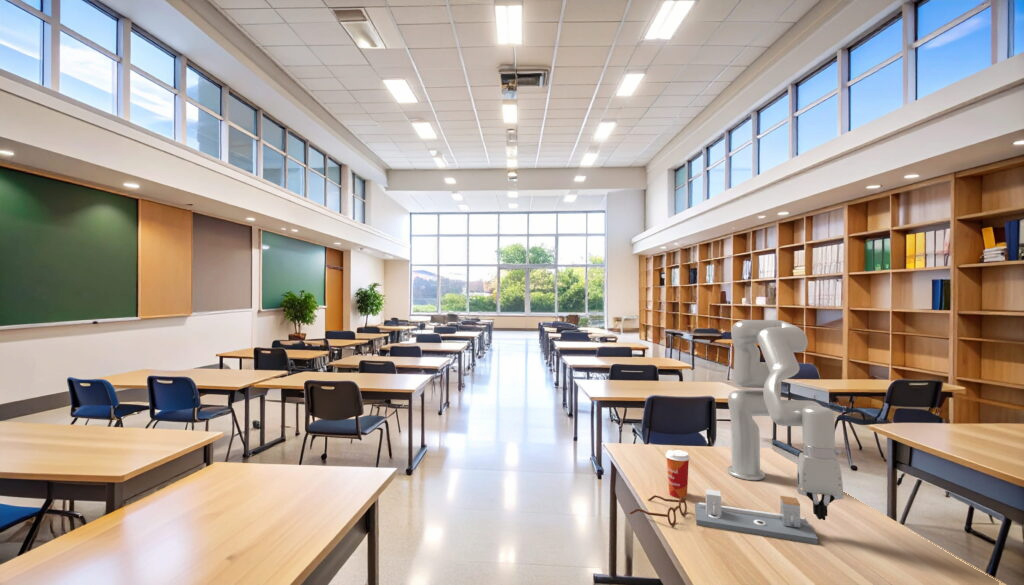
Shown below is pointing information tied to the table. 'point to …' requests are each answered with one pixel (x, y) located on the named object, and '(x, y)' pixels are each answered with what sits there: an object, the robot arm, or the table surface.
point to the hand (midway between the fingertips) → (820, 517)
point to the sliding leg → (790, 511)
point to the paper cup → (677, 473)
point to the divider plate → (749, 520)
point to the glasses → (668, 509)
